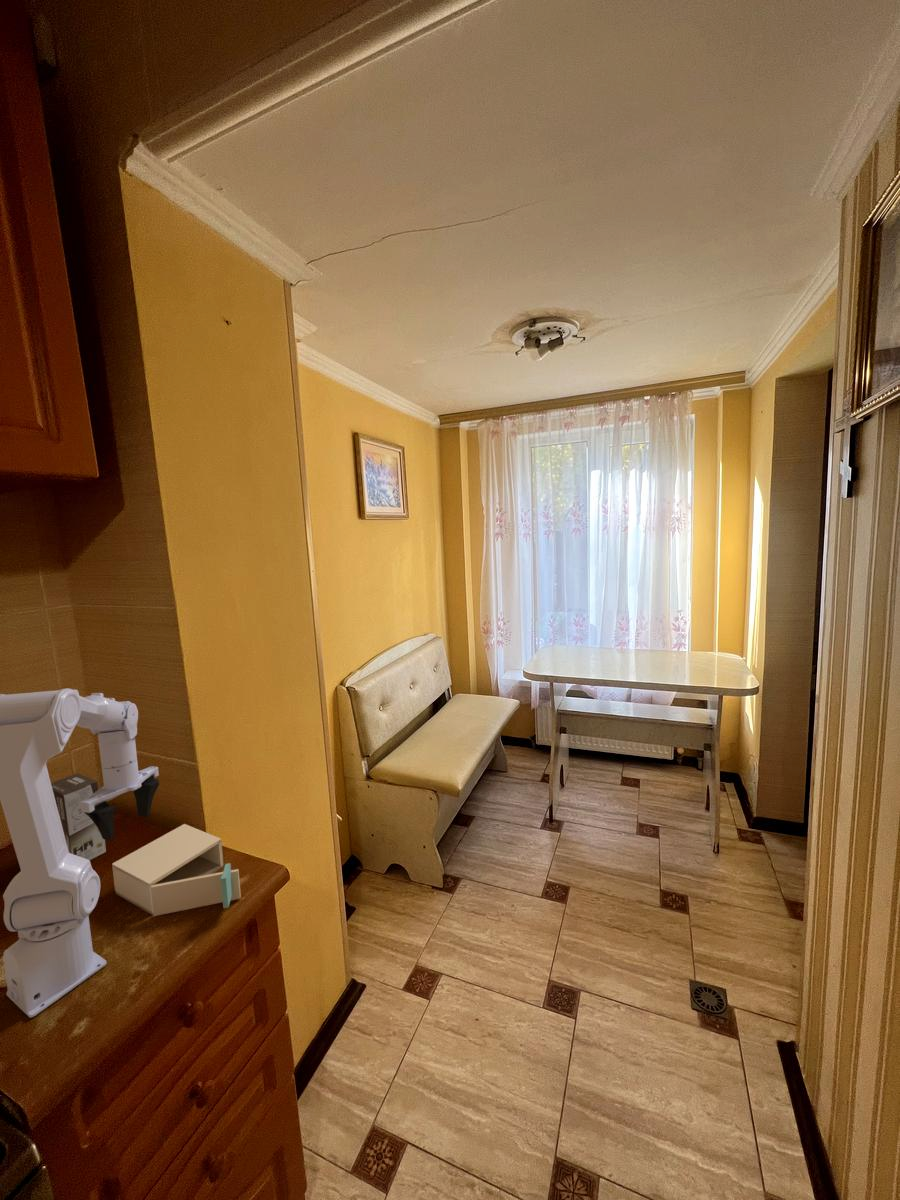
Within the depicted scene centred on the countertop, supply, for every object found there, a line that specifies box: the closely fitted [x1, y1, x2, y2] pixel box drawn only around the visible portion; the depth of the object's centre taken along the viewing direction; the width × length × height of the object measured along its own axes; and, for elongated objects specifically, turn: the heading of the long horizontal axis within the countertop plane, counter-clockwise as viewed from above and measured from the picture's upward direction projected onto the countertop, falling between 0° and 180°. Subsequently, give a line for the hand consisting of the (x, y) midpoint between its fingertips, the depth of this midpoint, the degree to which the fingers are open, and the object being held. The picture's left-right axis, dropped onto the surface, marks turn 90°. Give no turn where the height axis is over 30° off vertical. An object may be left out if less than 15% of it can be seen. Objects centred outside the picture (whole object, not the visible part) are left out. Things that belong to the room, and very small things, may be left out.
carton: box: [111, 823, 225, 916], centre depth 90 cm, size 14×12×6 cm
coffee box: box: [51, 772, 107, 862], centre depth 98 cm, size 9×6×16 cm
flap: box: [151, 862, 242, 917], centre depth 81 cm, size 14×5×7 cm, turn 105°
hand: (126, 826), depth 93 cm, fingers open, 7 cm apart
